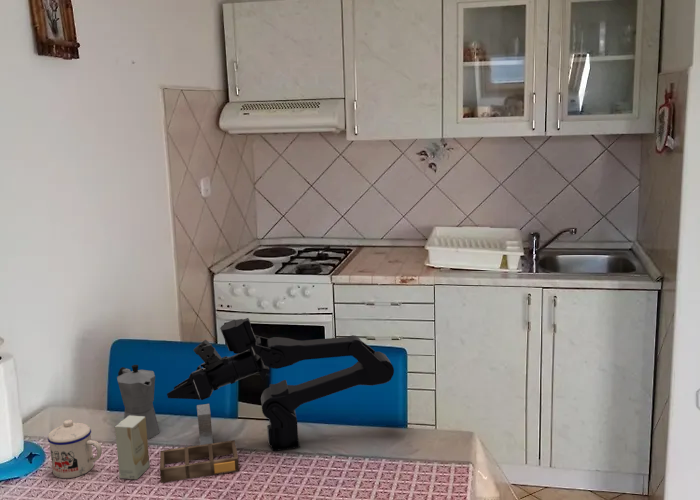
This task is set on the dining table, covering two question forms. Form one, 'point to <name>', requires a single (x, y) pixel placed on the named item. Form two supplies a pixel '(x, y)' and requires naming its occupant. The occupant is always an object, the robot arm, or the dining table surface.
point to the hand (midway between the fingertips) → (171, 392)
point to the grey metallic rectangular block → (204, 424)
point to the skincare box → (132, 447)
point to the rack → (201, 467)
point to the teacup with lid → (72, 449)
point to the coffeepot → (139, 396)
